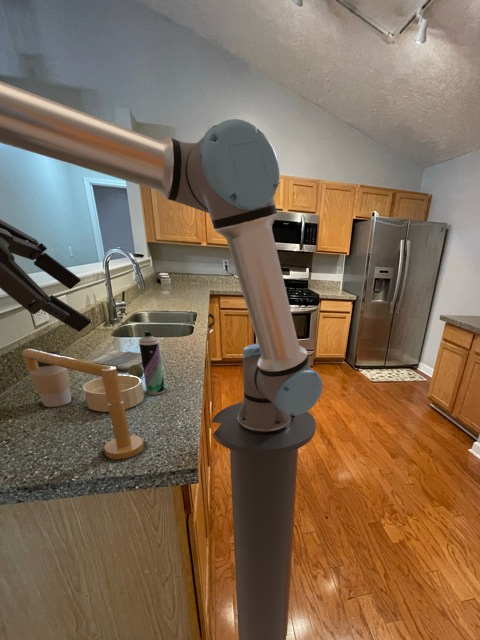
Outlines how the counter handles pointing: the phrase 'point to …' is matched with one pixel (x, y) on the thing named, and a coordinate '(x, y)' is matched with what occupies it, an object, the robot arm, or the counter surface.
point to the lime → (136, 371)
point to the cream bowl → (128, 387)
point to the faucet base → (122, 435)
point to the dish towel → (120, 360)
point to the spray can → (151, 364)
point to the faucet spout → (105, 372)
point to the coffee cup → (52, 383)
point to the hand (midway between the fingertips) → (80, 303)
